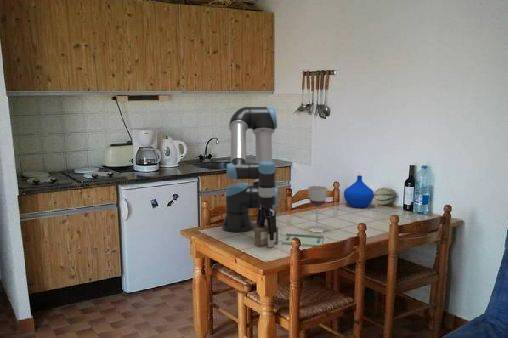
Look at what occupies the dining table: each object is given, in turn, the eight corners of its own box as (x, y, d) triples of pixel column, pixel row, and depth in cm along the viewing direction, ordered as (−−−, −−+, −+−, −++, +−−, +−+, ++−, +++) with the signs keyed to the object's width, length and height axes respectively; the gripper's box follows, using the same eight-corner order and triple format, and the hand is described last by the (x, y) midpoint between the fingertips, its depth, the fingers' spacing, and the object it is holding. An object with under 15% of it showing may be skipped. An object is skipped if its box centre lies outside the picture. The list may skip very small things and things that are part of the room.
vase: (367, 211, 272) (369, 179, 269) (338, 207, 282) (339, 176, 279) (377, 205, 287) (379, 175, 284) (349, 201, 297) (350, 172, 294)
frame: (258, 247, 208) (258, 230, 207) (254, 244, 212) (254, 228, 210) (278, 244, 212) (278, 227, 211) (273, 241, 216) (273, 225, 215)
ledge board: (281, 244, 212) (282, 240, 212) (286, 236, 223) (286, 233, 223) (321, 247, 208) (321, 243, 207) (323, 239, 219) (323, 236, 218)
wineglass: (321, 234, 228) (323, 190, 224) (304, 230, 233) (305, 188, 229) (328, 229, 235) (330, 187, 231) (311, 226, 240) (312, 185, 236)
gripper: (285, 199, 200) (284, 249, 204) (263, 190, 219) (263, 236, 223) (270, 201, 197) (269, 252, 201) (249, 192, 216) (249, 238, 219)
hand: (266, 243), depth 212 cm, fingers open, 8 cm apart
